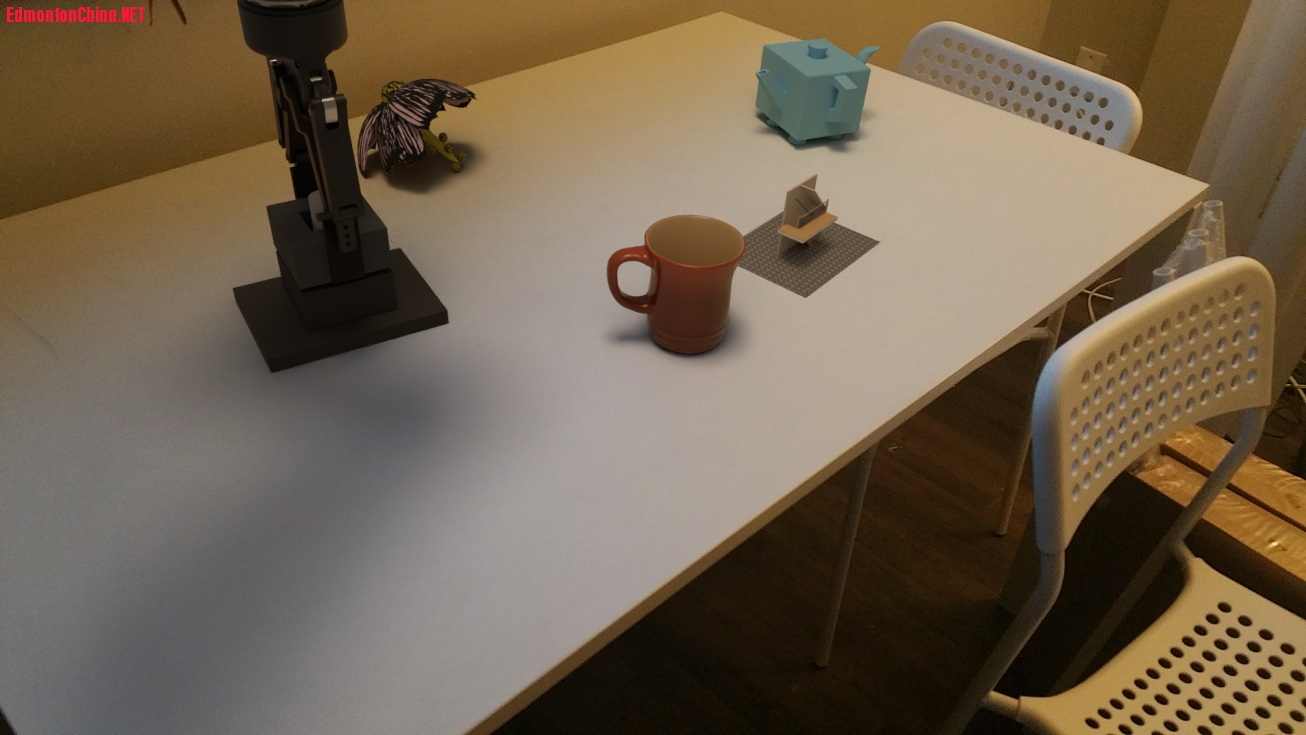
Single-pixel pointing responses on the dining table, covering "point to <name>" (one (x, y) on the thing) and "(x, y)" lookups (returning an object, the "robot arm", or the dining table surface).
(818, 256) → the architectural model
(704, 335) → the mug
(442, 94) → the decorative flower
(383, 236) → the grey square-holed block
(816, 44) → the teapot
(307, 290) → the dark block with hole
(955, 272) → the dining table surface
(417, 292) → the base pad
